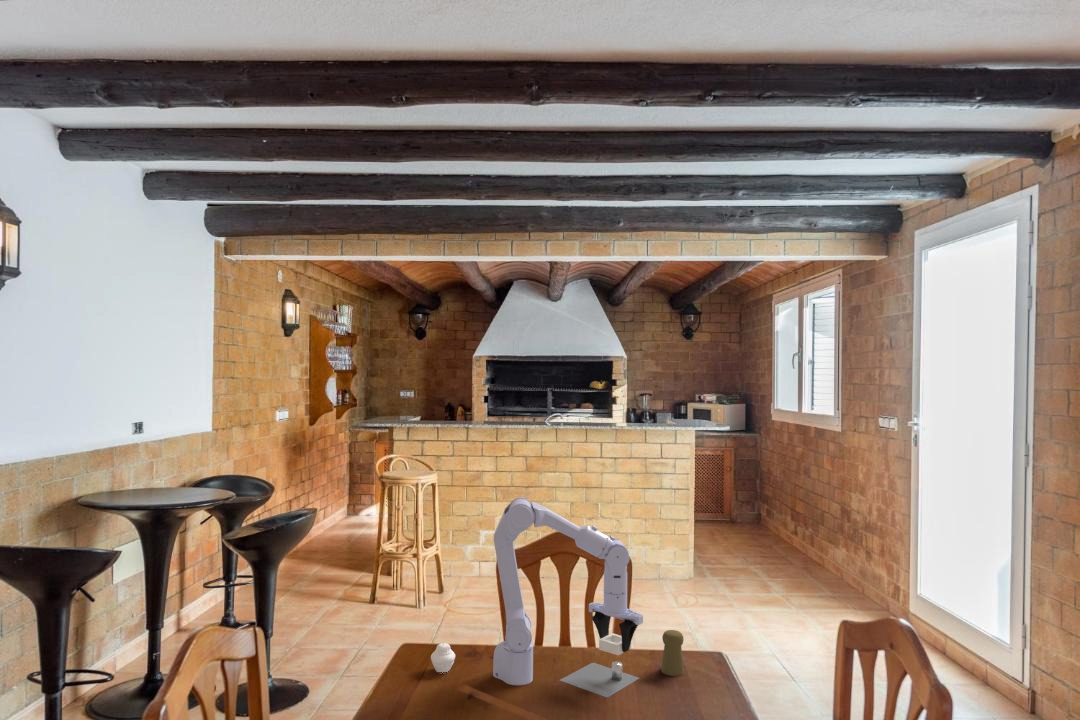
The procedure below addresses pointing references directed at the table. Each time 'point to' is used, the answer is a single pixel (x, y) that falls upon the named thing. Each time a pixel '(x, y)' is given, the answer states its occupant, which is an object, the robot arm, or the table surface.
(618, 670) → the post
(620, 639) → the collar
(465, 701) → the table surface
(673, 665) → the cork
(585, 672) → the board
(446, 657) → the white rounded jar shape
